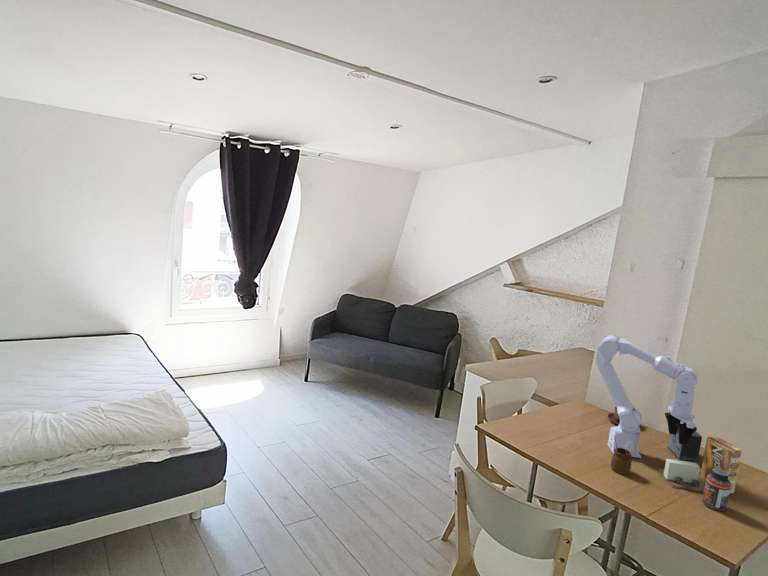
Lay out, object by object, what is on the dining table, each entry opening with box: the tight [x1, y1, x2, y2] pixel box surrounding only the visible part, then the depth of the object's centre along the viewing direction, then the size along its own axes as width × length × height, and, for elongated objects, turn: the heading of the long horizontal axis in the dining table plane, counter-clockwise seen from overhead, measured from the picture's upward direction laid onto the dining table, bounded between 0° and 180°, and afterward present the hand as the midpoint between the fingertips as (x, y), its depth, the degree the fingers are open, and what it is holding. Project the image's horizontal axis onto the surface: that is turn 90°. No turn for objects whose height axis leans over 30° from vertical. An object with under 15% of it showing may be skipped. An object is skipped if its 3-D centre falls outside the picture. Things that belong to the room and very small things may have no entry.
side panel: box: [658, 468, 706, 493], centre depth 145 cm, size 12×10×3 cm
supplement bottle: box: [702, 468, 731, 512], centre depth 132 cm, size 6×6×11 cm
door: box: [663, 458, 701, 483], centre depth 144 cm, size 9×2×6 cm, turn 79°
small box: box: [667, 430, 703, 464], centre depth 162 cm, size 11×6×10 cm, turn 168°
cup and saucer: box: [607, 406, 620, 426], centre depth 188 cm, size 12×12×6 cm
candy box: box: [699, 436, 743, 495], centre depth 142 cm, size 9×4×15 cm, turn 13°
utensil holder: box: [610, 435, 634, 475], centre depth 148 cm, size 6×6×12 cm
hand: (677, 438), depth 153 cm, fingers open, 7 cm apart
